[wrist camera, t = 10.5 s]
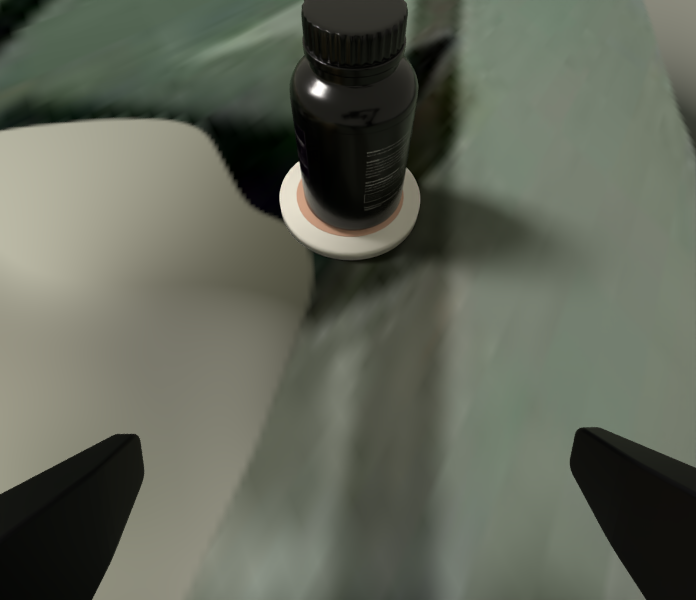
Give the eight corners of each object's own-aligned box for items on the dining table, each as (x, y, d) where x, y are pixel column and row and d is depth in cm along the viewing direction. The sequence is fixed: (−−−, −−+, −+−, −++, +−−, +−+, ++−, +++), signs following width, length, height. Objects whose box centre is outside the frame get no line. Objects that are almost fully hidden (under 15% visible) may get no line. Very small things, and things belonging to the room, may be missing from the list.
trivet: (445, 202, 30) (449, 192, 29) (352, 286, 26) (353, 277, 25) (347, 137, 33) (347, 126, 32) (253, 204, 29) (249, 194, 28)
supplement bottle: (393, 159, 30) (421, -34, 19) (406, 232, 27) (448, 47, 16) (302, 163, 30) (279, -31, 19) (304, 237, 26) (278, 53, 16)
